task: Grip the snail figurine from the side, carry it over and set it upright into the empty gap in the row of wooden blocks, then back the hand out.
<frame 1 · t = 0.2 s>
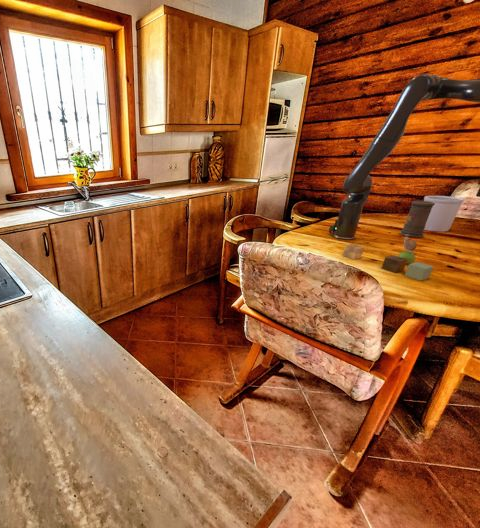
walnut block: (392, 269, 114), on the table
maple block: (351, 256, 128), on the table
snail figurine: (403, 263, 119), on the table
utensil holder: (431, 228, 159), on the table
container: (410, 235, 150), on the table
sage block: (416, 277, 107), on the table
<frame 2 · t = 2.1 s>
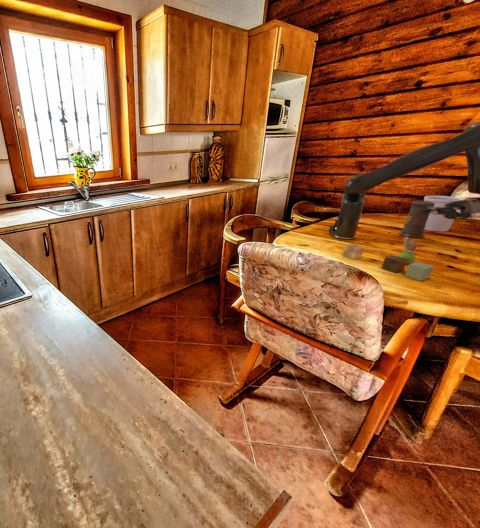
hand: (436, 214, 115), 20 cm above the table, tool horizontal, fingers open, 8 cm apart
nothing on the table moved.
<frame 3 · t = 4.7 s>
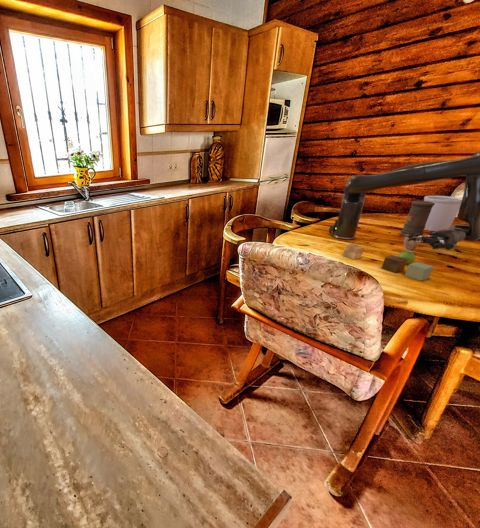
hand: (421, 243, 119), 7 cm above the table, tool horizontal, fingers open, 8 cm apart
nothing on the table moved.
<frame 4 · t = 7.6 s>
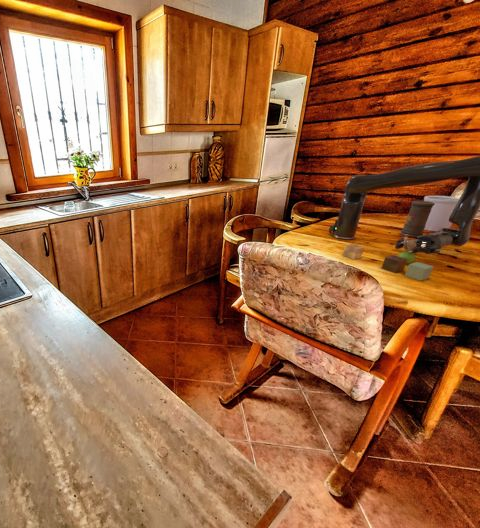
hand: (405, 248, 116), 7 cm above the table, tool horizontal, fingers closed on snail figurine, 5 cm apart
snail figurine: (403, 263, 119), on the table, touching gripper
everything else where it was.
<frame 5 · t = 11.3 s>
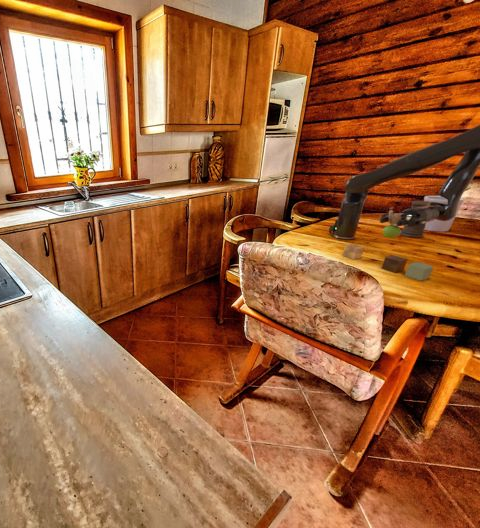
hand: (389, 222, 112), 19 cm above the table, tool horizontal, fingers closed on snail figurine, 5 cm apart
snail figurine: (388, 237, 116), point 11 cm above the table, touching gripper
everything else where it was.
when the fingers open (7 cm above the table, at t = 15.3 s): snail figurine stays where it is, on the table.
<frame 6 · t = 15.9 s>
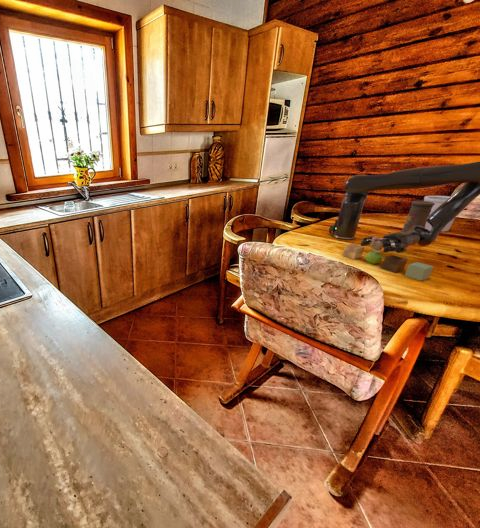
hand: (373, 246, 117), 8 cm above the table, tool horizontal, fingers open, 8 cm apart
snail figurine: (370, 263, 121), on the table
everything else where it was.
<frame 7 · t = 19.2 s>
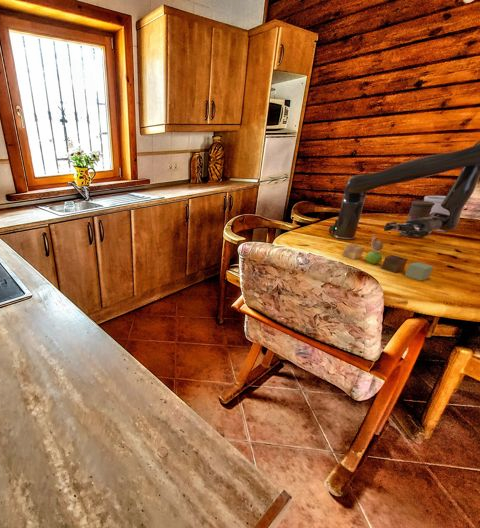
hand: (396, 231, 120), 13 cm above the table, tool horizontal, fingers open, 8 cm apart
nothing on the table moved.
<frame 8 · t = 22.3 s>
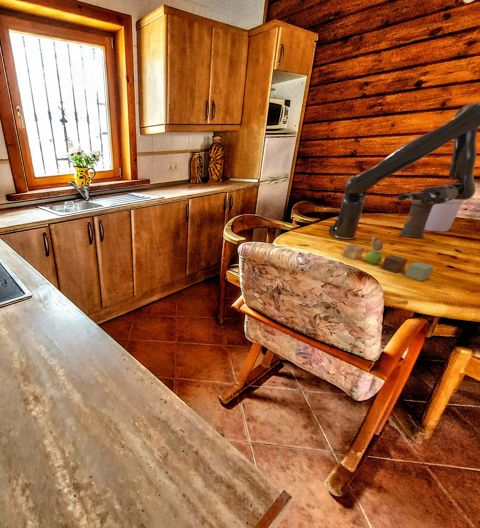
hand: (411, 199, 115), 26 cm above the table, tool horizontal, fingers open, 8 cm apart
nothing on the table moved.
at the end: snail figurine 0.1 cm from the target spot, on the table; snail figurine tilted 0°; walnut block moved 0.0 cm from its start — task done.
